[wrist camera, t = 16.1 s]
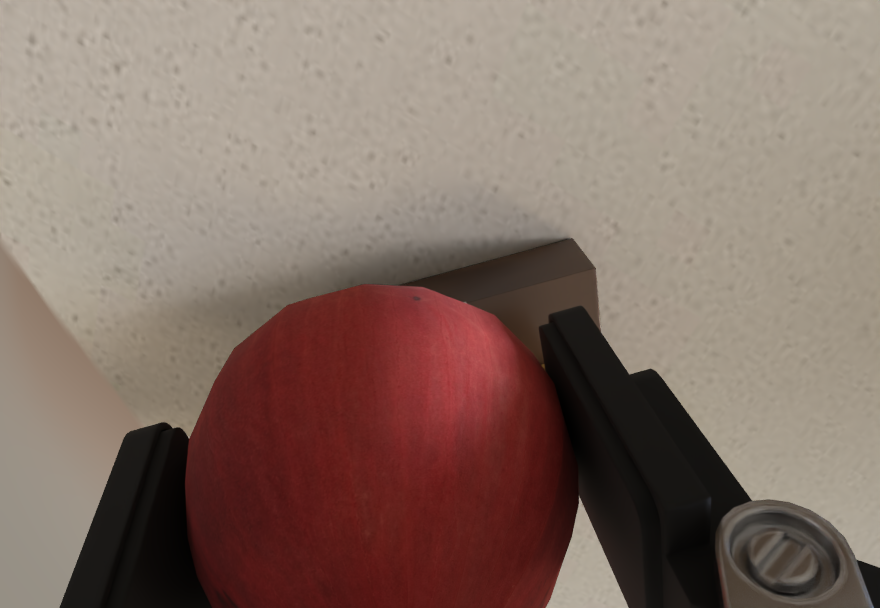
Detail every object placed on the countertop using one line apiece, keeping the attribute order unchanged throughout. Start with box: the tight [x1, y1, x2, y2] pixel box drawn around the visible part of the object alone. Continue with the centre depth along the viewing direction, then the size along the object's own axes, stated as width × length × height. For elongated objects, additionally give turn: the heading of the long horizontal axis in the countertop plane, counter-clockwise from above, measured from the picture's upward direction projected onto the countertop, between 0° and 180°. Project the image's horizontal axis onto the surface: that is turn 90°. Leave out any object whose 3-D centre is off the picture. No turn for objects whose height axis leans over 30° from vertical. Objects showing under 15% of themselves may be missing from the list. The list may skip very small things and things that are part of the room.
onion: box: [185, 284, 579, 608], centre depth 9 cm, size 6×6×8 cm
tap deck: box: [398, 238, 601, 365], centre depth 31 cm, size 12×11×3 cm
